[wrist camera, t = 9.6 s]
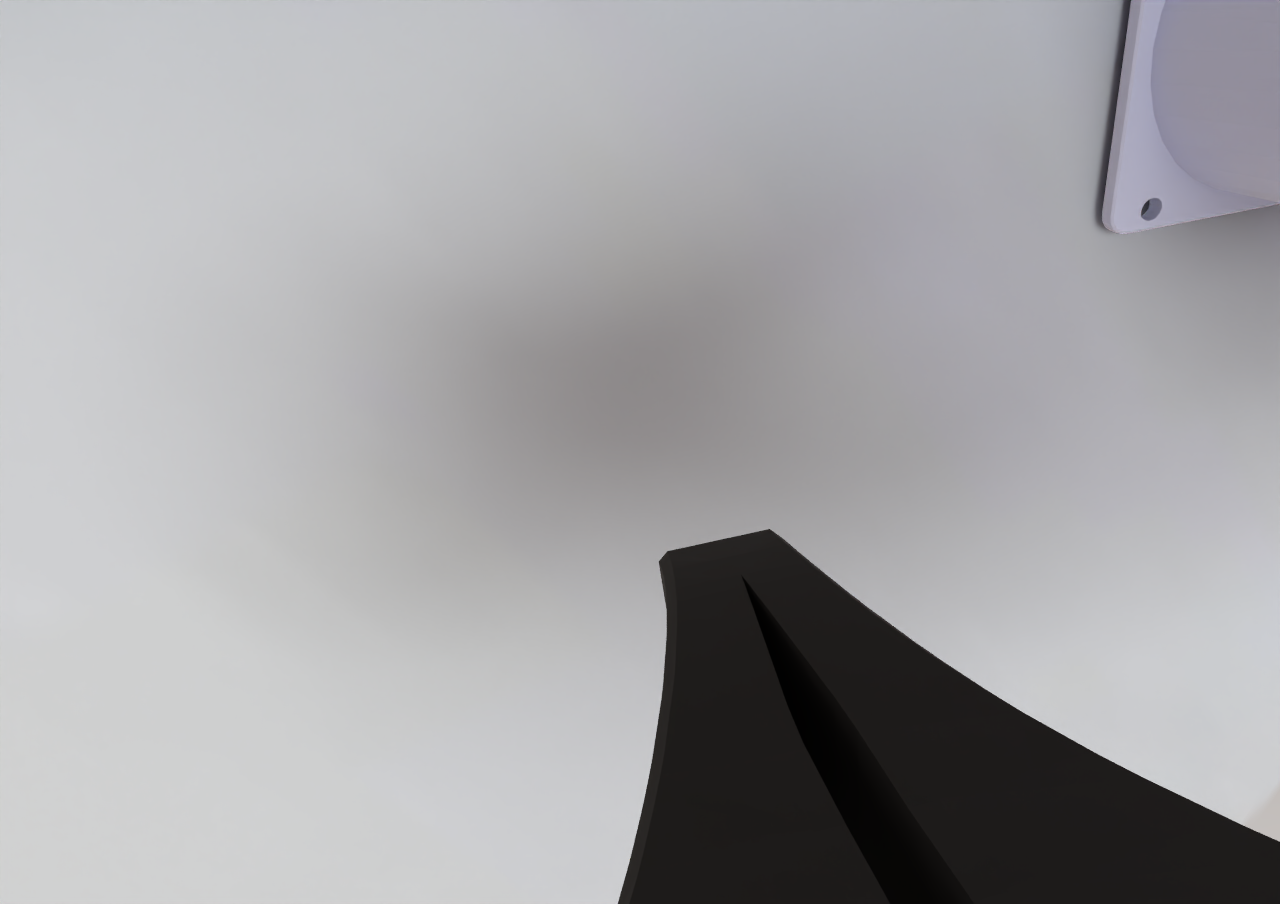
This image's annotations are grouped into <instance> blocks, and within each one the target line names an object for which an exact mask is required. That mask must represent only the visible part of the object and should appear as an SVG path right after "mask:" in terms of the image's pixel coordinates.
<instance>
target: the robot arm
mask: <svg viewBox="0 0 1280 904" xmlns="http://www.w3.org/2000/svg"><path fill="white" fill-rule="evenodd" d="M1148 200H1150V205H1149V208H1148V210H1147V211H1146V212H1145V213H1144V215H1142V216H1141V210H1142V207H1143V205H1144V204H1145V203H1146V202H1147V201H1148ZM1277 204H1280V0H1131V6H1130V13H1129V21H1128V28H1127V35H1126V42H1125V50H1124V57H1123V64H1122V72H1121V79H1120V86H1119V94H1118V101H1117V108H1116V116H1115V123H1114V130H1113V137H1112V145H1111V152H1110V159H1109V167H1108V174H1107V181H1106V189H1105V196H1104V203H1103V210H1102V222H1103V224H1104V226H1105V227H1106V228H1107V229H1109V230H1110V231H1113V232H1116V233H1119V234H1129V233H1134V232H1139V231H1144V230H1150V229H1155V228H1160V227H1165V226H1170V225H1175V224H1180V223H1185V222H1190V221H1196V220H1201V219H1206V218H1211V217H1216V216H1221V215H1226V214H1231V213H1236V212H1242V211H1247V210H1252V209H1257V208H1262V207H1267V206H1272V205H1277ZM659 566H660V572H661V578H662V584H663V590H664V596H665V602H666V608H667V640H666V654H665V668H664V682H663V691H662V700H661V706H660V713H659V719H658V726H657V732H656V739H655V746H654V752H653V759H652V764H651V769H650V774H649V779H648V784H647V789H646V794H645V799H644V804H643V808H642V813H641V817H640V821H639V825H638V830H637V834H636V838H635V842H634V846H633V850H632V854H631V858H630V862H629V866H628V870H627V873H626V877H625V880H624V884H623V887H622V891H621V894H620V898H619V902H618V904H1280V842H1279V841H1277V840H1274V839H1272V838H1270V837H1268V836H1265V835H1263V834H1261V833H1258V832H1256V831H1254V830H1252V829H1250V828H1247V827H1245V826H1243V825H1241V824H1239V823H1237V822H1235V821H1232V820H1230V819H1228V818H1226V817H1224V816H1222V815H1220V814H1218V813H1216V812H1214V811H1212V810H1209V809H1207V808H1205V807H1203V806H1201V805H1199V804H1197V803H1195V802H1193V801H1191V800H1189V799H1187V798H1184V797H1182V796H1180V795H1178V794H1176V793H1174V792H1172V791H1170V790H1168V789H1166V788H1164V787H1161V786H1159V785H1157V784H1155V783H1153V782H1151V781H1149V780H1147V779H1145V778H1143V777H1141V776H1139V775H1137V774H1135V773H1133V772H1131V771H1129V770H1127V769H1125V768H1123V767H1121V766H1119V765H1117V764H1115V763H1114V762H1112V761H1110V760H1108V759H1106V758H1104V757H1102V756H1100V755H1098V754H1096V753H1094V752H1093V751H1091V750H1089V749H1087V748H1085V747H1084V746H1082V745H1080V744H1078V743H1076V742H1075V741H1073V740H1071V739H1069V738H1068V737H1066V736H1064V735H1062V734H1060V733H1059V732H1057V731H1055V730H1053V729H1051V728H1050V727H1048V726H1046V725H1044V724H1043V723H1041V722H1039V721H1037V720H1035V719H1034V718H1032V717H1030V716H1028V715H1026V714H1025V713H1023V712H1021V711H1020V710H1018V709H1016V708H1015V707H1013V706H1011V705H1010V704H1008V703H1007V702H1005V701H1003V700H1002V699H1000V698H998V697H997V696H995V695H994V694H992V693H990V692H989V691H987V690H986V689H984V688H983V687H981V686H979V685H978V684H976V683H975V682H973V681H972V680H970V679H969V678H967V677H966V676H964V675H963V674H961V673H960V672H958V671H957V670H955V669H954V668H952V667H951V666H949V665H948V664H946V663H944V662H943V661H941V660H940V659H939V658H937V657H936V656H934V655H933V654H931V653H930V652H928V651H927V650H926V649H924V648H923V647H921V646H920V645H918V644H917V643H916V642H914V641H913V640H911V639H910V638H909V637H907V636H906V635H905V634H903V633H902V632H900V631H899V630H898V629H896V628H895V627H894V626H892V625H891V624H890V623H888V622H887V621H885V620H884V619H883V618H881V617H880V616H879V615H877V614H876V613H875V612H873V611H872V610H870V609H869V608H868V607H866V606H865V605H864V604H863V603H861V602H860V601H859V600H857V599H856V598H855V597H854V596H852V595H851V594H850V593H848V592H847V591H846V590H845V589H843V588H842V587H841V586H840V585H838V584H837V583H836V582H835V581H833V580H832V579H831V578H830V577H828V576H827V575H826V574H825V573H823V572H822V571H821V570H820V569H818V568H817V567H816V566H815V565H814V564H812V563H811V562H810V561H809V560H808V559H806V558H805V557H804V556H803V555H802V554H800V553H799V552H798V551H797V550H796V549H794V548H793V547H792V546H791V545H790V544H788V543H787V542H786V541H785V540H784V539H783V538H781V537H780V536H779V535H777V534H776V533H774V532H773V531H772V530H770V529H768V530H763V531H759V532H754V533H750V534H745V535H741V536H736V537H731V538H727V539H722V540H718V541H713V542H708V543H704V544H699V545H695V546H690V547H685V548H681V549H676V550H672V551H667V552H666V554H665V555H664V556H663V557H662V558H661V560H660V561H659Z"/></svg>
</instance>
